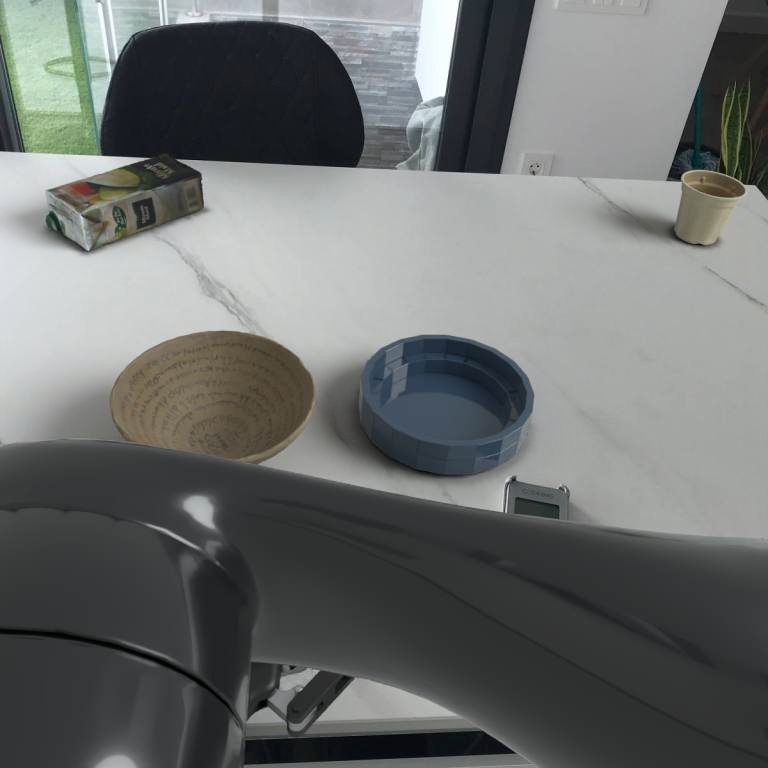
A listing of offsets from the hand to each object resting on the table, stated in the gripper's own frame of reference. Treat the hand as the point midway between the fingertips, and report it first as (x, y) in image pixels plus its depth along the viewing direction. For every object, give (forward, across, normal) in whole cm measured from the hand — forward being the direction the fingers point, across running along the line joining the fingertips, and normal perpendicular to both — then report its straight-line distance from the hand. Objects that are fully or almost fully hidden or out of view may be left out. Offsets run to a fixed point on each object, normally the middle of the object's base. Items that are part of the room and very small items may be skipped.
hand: (318, 563), depth 56 cm
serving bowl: (+28, +5, +8) cm, 29 cm away
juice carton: (+35, +62, +8) cm, 72 cm away
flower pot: (+88, -3, +8) cm, 89 cm away
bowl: (+9, +20, +8) cm, 23 cm away
